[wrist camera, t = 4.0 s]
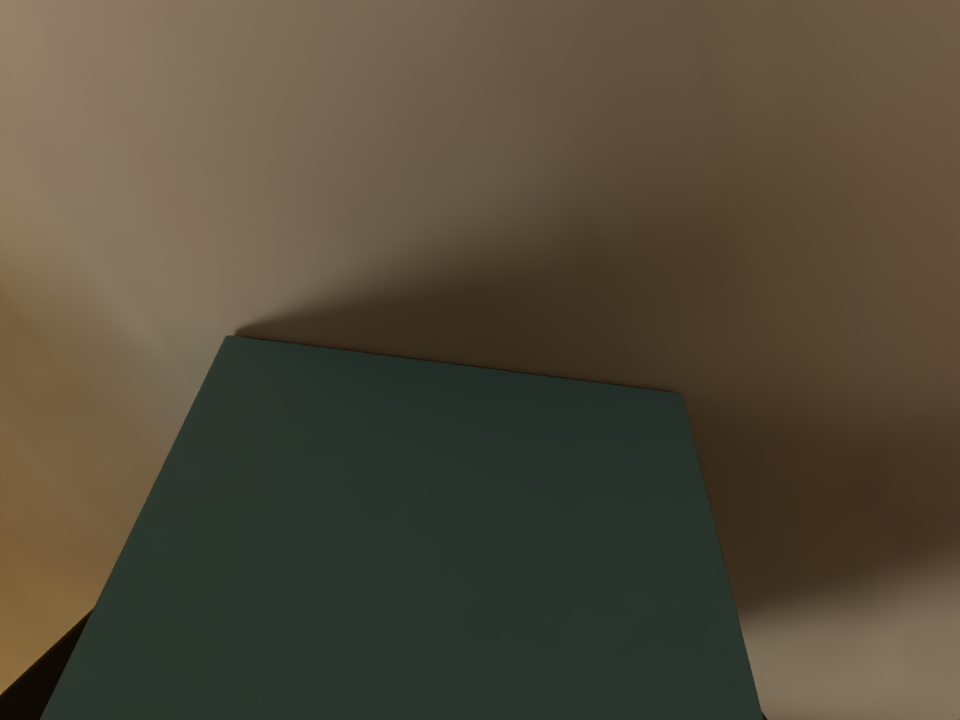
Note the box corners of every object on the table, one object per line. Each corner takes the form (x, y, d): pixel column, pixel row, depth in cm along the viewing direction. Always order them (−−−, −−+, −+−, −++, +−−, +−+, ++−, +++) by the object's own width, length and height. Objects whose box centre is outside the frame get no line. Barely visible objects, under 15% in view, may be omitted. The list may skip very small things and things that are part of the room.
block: (683, 391, 9) (789, 806, 6) (588, 660, 12) (618, 1047, 9) (225, 332, 9) (30, 729, 5) (239, 621, 12) (121, 1003, 8)
